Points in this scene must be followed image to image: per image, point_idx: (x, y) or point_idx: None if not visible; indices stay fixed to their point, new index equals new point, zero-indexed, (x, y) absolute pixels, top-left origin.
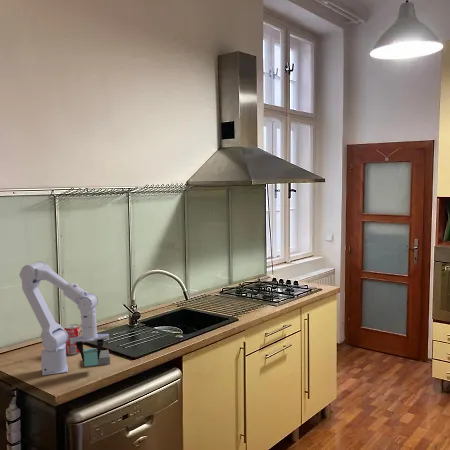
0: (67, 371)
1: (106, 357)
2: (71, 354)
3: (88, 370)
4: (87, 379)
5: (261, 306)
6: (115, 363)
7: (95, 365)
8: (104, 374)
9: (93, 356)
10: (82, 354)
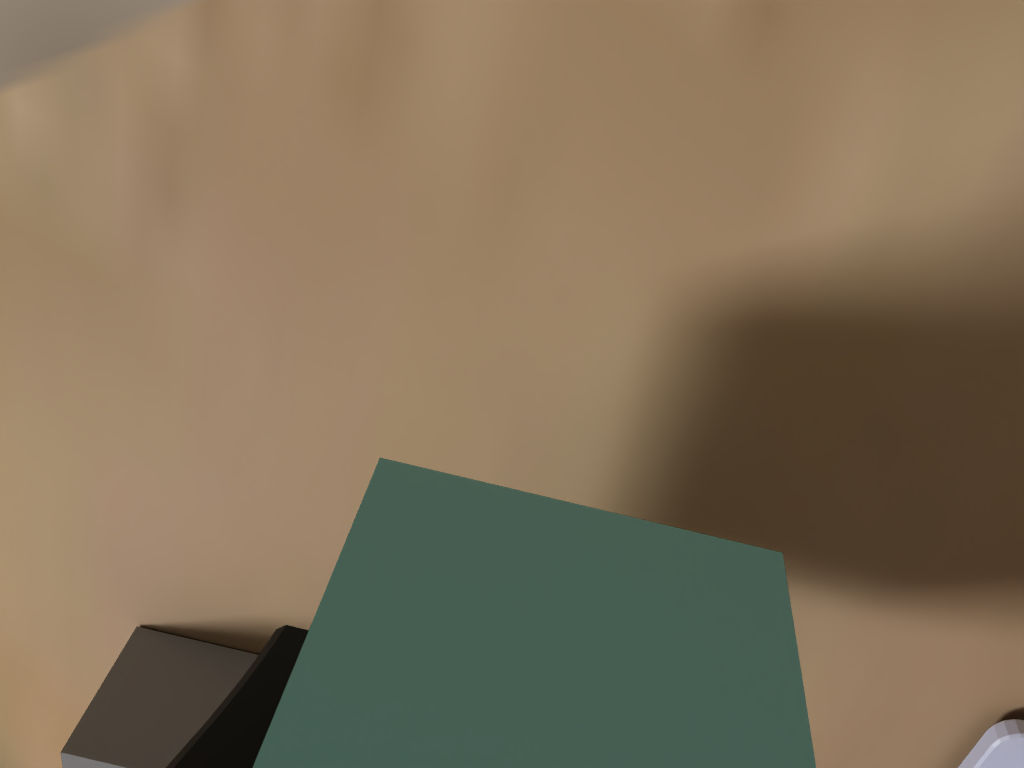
0: (1004, 729)
1: (134, 763)
2: None
3: None
4: (806, 101)
5: None
6: (37, 597)
7: None
8: (305, 184)
9: (446, 724)
10: None
